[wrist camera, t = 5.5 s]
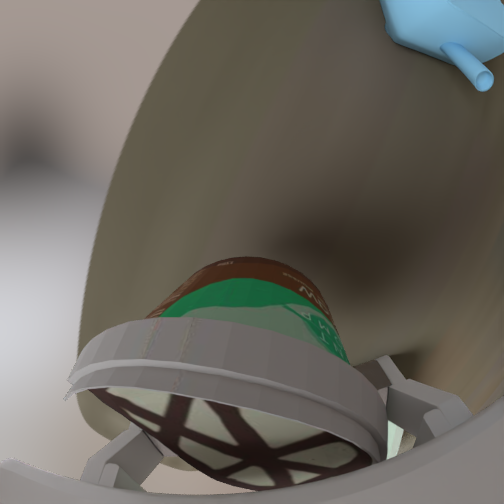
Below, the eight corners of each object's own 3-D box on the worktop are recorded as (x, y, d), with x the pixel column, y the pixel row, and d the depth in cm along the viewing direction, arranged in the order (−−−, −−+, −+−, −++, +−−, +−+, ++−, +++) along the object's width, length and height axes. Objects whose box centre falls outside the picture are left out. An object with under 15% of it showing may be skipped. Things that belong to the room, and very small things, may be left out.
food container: (390, 332, 15) (448, 472, 6) (314, 386, 17) (320, 524, 8) (239, 180, 13) (138, 241, 4) (165, 263, 15) (49, 387, 6)
